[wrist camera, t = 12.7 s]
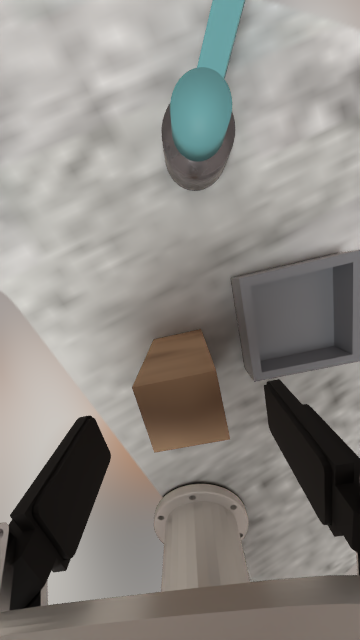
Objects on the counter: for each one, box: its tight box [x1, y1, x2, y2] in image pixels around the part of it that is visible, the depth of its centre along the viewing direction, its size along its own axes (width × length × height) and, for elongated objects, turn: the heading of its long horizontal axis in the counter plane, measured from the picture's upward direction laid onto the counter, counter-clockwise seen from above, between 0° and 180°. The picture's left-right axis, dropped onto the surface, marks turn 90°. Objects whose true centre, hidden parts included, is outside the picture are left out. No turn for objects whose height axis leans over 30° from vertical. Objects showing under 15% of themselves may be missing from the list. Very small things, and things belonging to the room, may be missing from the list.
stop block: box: [132, 329, 230, 453], centre depth 14 cm, size 5×5×8 cm
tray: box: [231, 250, 360, 382], centre depth 16 cm, size 10×10×2 cm
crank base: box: [162, 102, 235, 191], centre depth 13 cm, size 5×5×2 cm
